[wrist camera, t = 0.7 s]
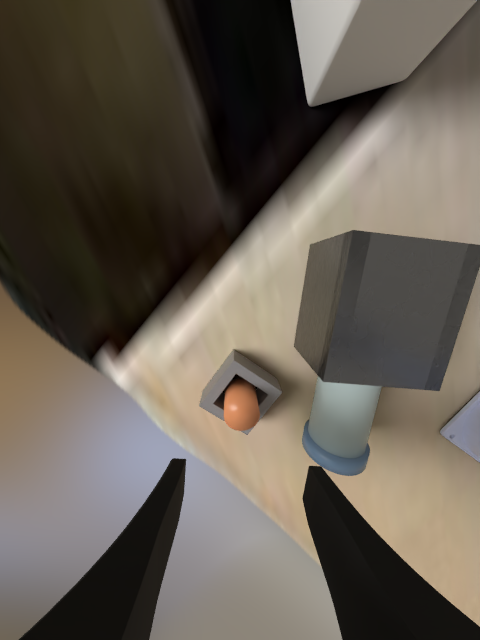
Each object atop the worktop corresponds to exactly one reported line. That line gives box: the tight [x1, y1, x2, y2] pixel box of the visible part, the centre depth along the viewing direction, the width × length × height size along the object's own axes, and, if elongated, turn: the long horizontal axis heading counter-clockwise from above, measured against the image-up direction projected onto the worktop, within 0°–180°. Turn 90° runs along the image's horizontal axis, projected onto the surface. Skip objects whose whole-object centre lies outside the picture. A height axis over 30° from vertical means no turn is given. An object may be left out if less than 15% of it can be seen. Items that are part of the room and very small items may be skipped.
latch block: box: [199, 349, 282, 435], centre depth 19 cm, size 5×5×2 cm
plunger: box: [224, 378, 260, 431], centre depth 17 cm, size 3×3×3 cm
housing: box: [294, 230, 480, 391], centre depth 16 cm, size 9×7×6 cm
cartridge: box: [302, 376, 382, 476], centre depth 17 cm, size 15×5×5 cm, turn 174°
